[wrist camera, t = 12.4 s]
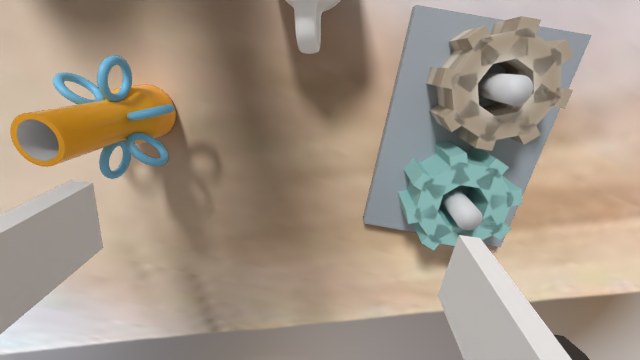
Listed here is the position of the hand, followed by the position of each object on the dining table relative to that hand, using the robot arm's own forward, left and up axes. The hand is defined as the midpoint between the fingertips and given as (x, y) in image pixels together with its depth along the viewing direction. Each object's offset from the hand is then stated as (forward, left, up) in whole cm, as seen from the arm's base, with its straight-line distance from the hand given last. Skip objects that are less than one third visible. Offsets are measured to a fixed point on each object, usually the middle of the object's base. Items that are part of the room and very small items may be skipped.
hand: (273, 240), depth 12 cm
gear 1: (-7, +16, -25) cm, 30 cm away
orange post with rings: (+2, -20, -27) cm, 33 cm away
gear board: (-1, +16, -26) cm, 31 cm away
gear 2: (+5, +16, -25) cm, 30 cm away
